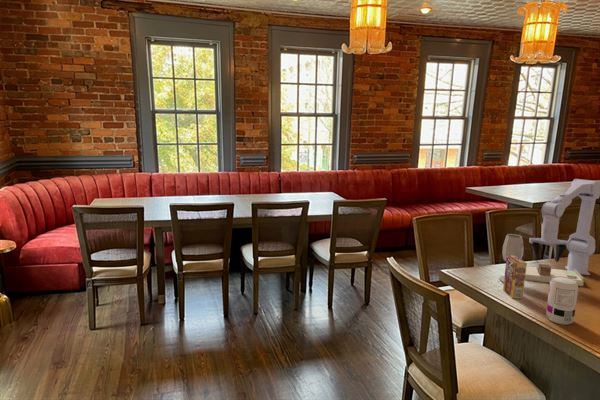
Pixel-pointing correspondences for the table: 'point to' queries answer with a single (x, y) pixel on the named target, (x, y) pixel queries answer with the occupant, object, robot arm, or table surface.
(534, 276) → the beige flat block
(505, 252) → the wineglass
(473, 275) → the table surface
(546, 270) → the block
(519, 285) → the candy box
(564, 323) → the supplement can
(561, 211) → the robot arm
